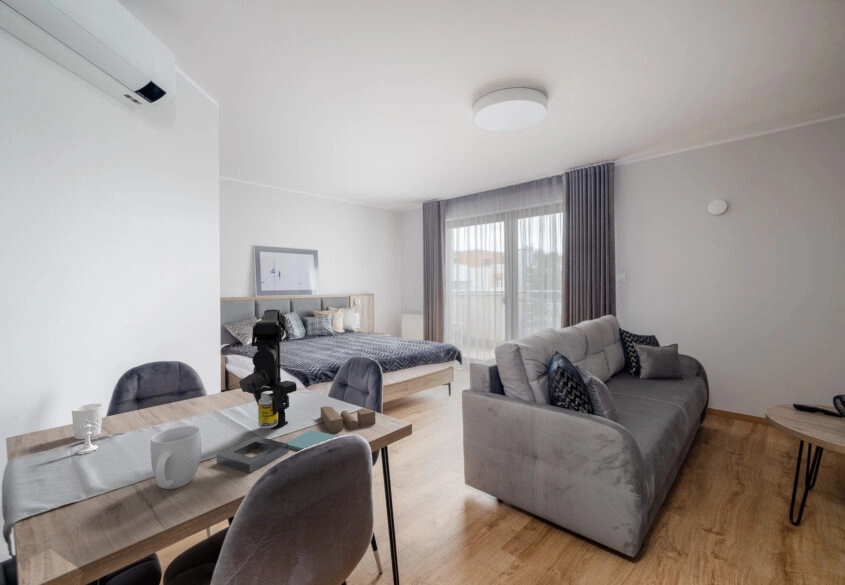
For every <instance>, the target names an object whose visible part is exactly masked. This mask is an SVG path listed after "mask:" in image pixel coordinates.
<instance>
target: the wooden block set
mask: <svg viewBox="0 0 845 585" xmlns="http://www.w3.org/2000/svg"><path fill="white" fill-rule="evenodd" d="M356 415H357V416H356V418H357V420H356V418H355V417H353V416H352V414H350V412H349V411H348V410H342V411H341V412H340V414H339V412H338V411H336V410H335V409H334V408H333V406H327V405H324V406H321V407H320V417H321V419H322V420H323V421H322V422H324V426H325V427H326V428H327V430H328V431H329V433H335V432H342V431H343V430H344V427H343V426H344V423H345V424H346V425H347V426H348V428H349V429H351V430H354V429H356V428H358V425H360V427H364V426H370V425H374V424H376V411H374V410H371V409H370V410H369V409H367V408H363V407H362V408H360V409H357V411H356ZM343 421H344V422H343Z"/></svg>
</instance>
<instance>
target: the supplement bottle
mask: <svg viewBox="0 0 845 585" xmlns="http://www.w3.org/2000/svg"><path fill="white" fill-rule="evenodd" d="M271 393H273V392H272V391H266V392H263V393H261V399H260V400H259V401H258V405H257V407H258V408H257V409H258V413H257V414H258V417H257V418H258V427H259V428H261V429H272V428H271V427H274V426H276V425H277V424H278V412H277V414H273V408H272V398H271V397H270V396H269V395H268V394H271Z"/></svg>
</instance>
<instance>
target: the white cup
mask: <svg viewBox="0 0 845 585" xmlns="http://www.w3.org/2000/svg"><path fill="white" fill-rule="evenodd" d="M103 406H104V405H103V404H102V403H89V404H83V405H80V406H76V407H74V408H72V409H71V417H72V418H71V419H72V428H73V432H74V440H85V435H83V433H85V431H84V429H83V426H85V425H86V424H83V422H86V420H87V419H88V421H91V422H90V423H88V424H89V425H91V428H90V432H92V433H91V434H89V436H90V439H91V438H95V437H96V436H99V435H101V433H102V424H103Z"/></svg>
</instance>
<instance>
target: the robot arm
mask: <svg viewBox="0 0 845 585" xmlns="http://www.w3.org/2000/svg"><path fill="white" fill-rule="evenodd" d="M285 331H287V317H286V316H285V315H284V314H282V313H281V310H279V309H266V310H264V315H263V316H262V317H261V320H258V321H256V322H255V325H253V326H252V336H251V347H256V351H255V353H254V355H253V357H252V365H253V366H254V368H253V372H252V373H250V374H248V375H247V376H245V377H243V378H242V379H241V380H239V381H238V384H239V386H240V387H239V388H240V389H241V392H243V393H248V394H251V395H252V396H253V397H254V400H255V401H256V404H257V406H258V401H259V400H260V399H261V393H263V392H266V391H272V392H273V393H271V394H268V395H269V396H270V397H271V398H272V408H273V414H277V412H278V424H277V425H276V426H274V427H271V428H270V429H274V430H275V429H278V428H280V427H283V426H284V425H287V424H288V423H289V421H286V410H287V409H288V408H290V396H289V395H288V394H291V393H294V392H296V391H297V386H298V385H297V382H295V381H291V380H283V381H282V377H281V368H282V367H281V343H283V338H284V336H285V333H286V332H285Z"/></svg>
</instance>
